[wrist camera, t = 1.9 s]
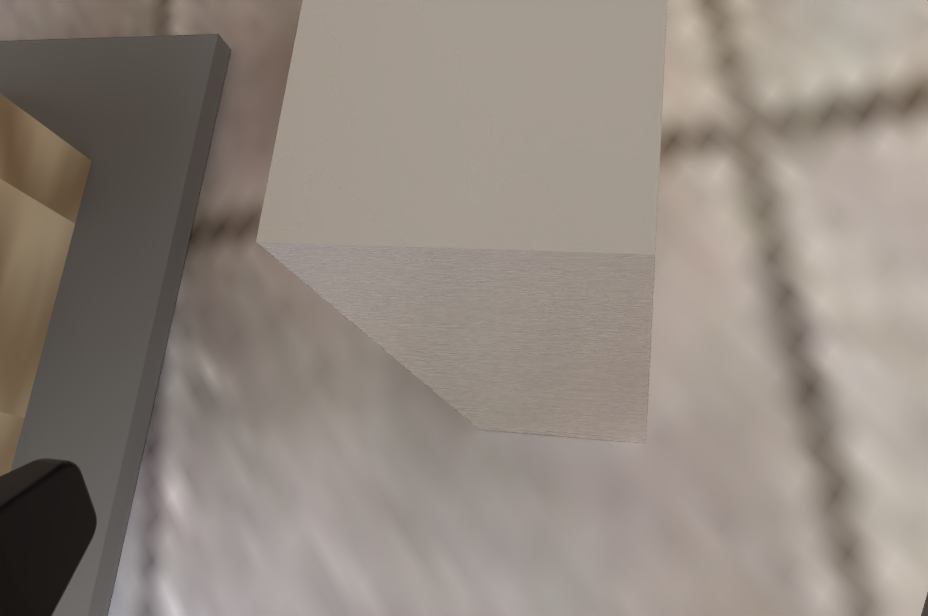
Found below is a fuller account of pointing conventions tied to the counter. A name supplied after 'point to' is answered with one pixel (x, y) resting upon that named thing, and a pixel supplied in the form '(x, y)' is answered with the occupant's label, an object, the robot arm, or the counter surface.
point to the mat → (114, 257)
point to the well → (30, 252)
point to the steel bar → (482, 197)
